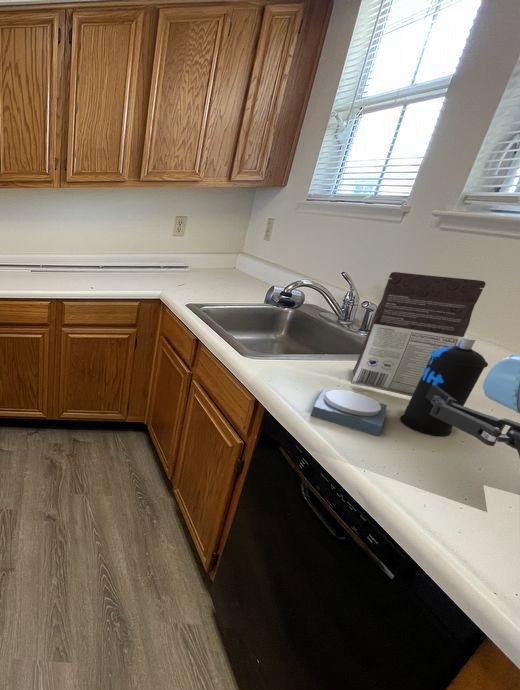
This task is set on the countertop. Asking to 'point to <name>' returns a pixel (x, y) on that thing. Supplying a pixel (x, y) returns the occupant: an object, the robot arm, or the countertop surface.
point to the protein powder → (414, 328)
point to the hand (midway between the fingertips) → (475, 396)
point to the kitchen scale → (350, 410)
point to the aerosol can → (444, 385)
